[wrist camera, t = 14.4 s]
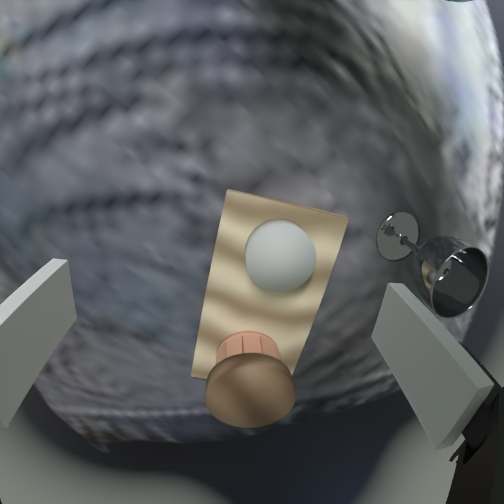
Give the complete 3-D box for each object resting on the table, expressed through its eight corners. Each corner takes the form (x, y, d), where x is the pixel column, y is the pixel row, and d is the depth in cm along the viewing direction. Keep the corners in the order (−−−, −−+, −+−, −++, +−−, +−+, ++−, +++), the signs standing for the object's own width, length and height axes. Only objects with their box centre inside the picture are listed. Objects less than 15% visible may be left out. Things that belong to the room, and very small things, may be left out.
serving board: (227, 188, 37) (227, 190, 36) (344, 216, 39) (348, 219, 38) (191, 369, 46) (190, 376, 45) (284, 382, 48) (286, 389, 47)
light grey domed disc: (296, 207, 37) (301, 214, 34) (319, 265, 40) (325, 275, 37) (233, 235, 38) (233, 244, 35) (261, 290, 40) (263, 302, 38)
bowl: (264, 321, 42) (268, 348, 36) (288, 365, 45) (294, 393, 40) (204, 344, 43) (201, 373, 37) (233, 385, 46) (234, 413, 40)
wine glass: (363, 234, 40) (420, 285, 26) (405, 196, 38) (476, 230, 24) (391, 274, 42) (446, 332, 28) (430, 238, 41) (495, 283, 27)
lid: (273, 339, 36) (276, 356, 33) (303, 395, 40) (307, 411, 37) (190, 370, 37) (188, 386, 34) (230, 419, 41) (230, 435, 38)
